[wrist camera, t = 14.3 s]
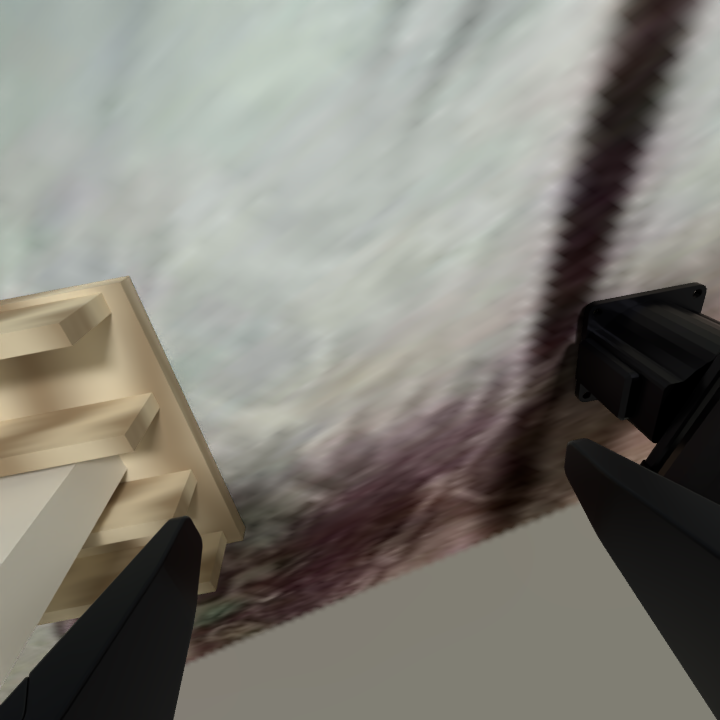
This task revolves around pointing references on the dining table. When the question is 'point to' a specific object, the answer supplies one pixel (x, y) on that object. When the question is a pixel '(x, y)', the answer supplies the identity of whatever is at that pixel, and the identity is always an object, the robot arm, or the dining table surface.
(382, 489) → the dining table surface
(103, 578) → the ridged tan cradle
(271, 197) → the dining table surface
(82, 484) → the cream rectangular block
